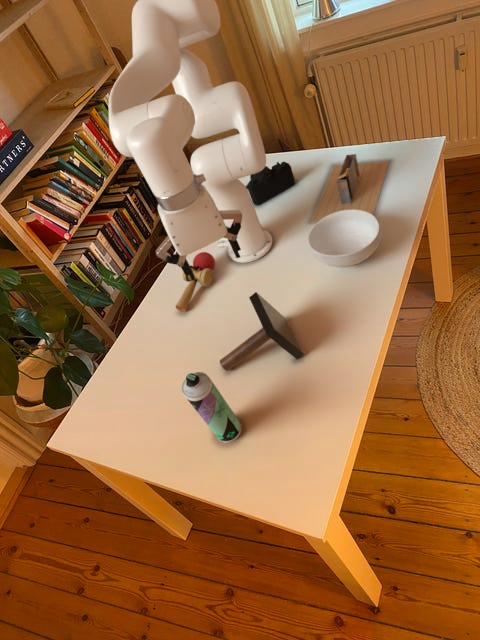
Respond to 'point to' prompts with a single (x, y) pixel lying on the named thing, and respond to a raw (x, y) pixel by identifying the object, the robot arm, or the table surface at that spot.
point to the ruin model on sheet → (352, 187)
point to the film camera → (270, 182)
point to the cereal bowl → (344, 238)
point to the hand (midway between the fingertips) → (214, 264)
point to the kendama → (197, 277)
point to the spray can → (211, 406)
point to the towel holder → (264, 334)
